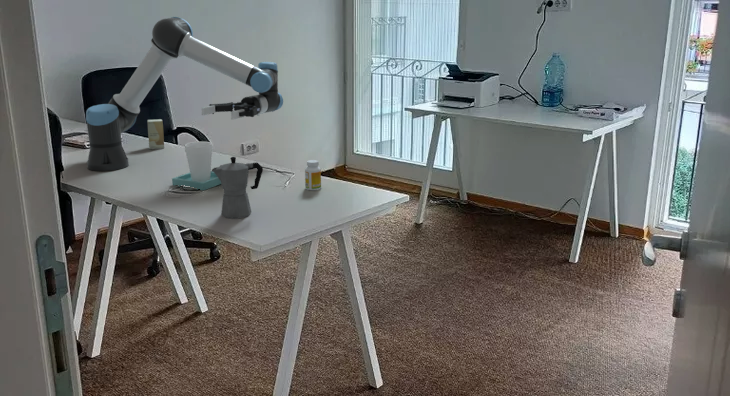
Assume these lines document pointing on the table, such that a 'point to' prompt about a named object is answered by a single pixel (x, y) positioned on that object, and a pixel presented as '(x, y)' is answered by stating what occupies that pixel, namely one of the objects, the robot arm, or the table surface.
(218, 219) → the table surface
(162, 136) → the skincare box
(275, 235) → the table surface
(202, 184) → the tray
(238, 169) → the coffeepot
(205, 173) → the foam cup
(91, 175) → the table surface
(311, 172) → the supplement bottle
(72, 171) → the table surface
